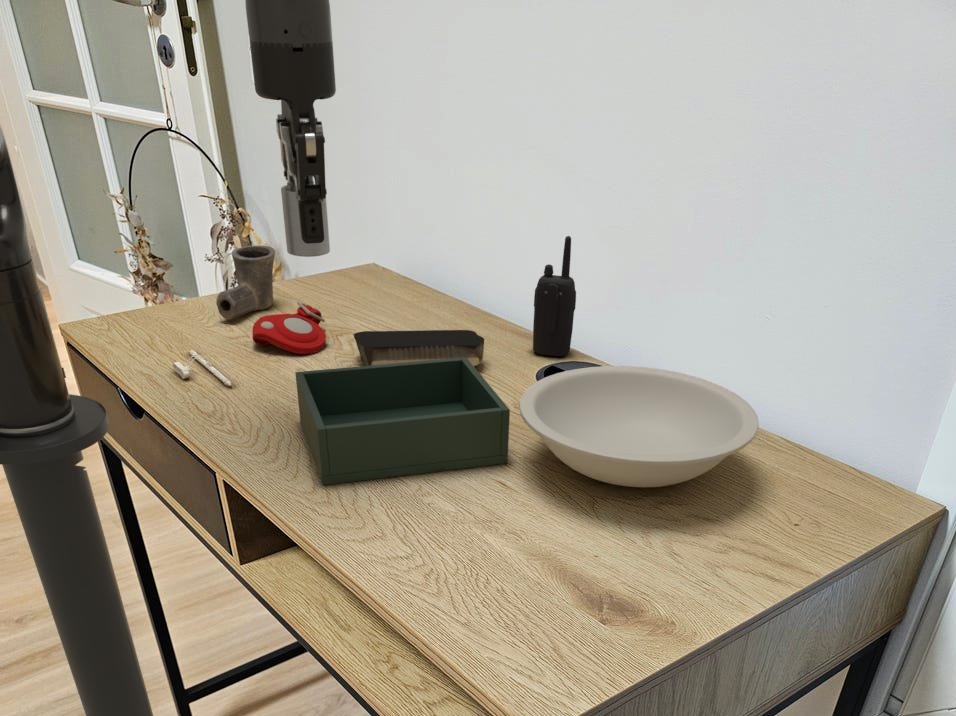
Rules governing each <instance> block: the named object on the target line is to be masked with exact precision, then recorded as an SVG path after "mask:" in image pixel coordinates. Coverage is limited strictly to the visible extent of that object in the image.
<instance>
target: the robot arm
mask: <svg viewBox="0 0 956 716" xmlns="http://www.w3.org/2000/svg"><path fill="white" fill-rule="evenodd" d="M244 3H245V14H246V21H247V22H246V23H247V31H248V37H249V38H248V39H249V48H250V58H251V65H252V66H251V67H252V74H253V82H254V89H255V93H256V95H257V96H258V97H260V98H262V99H266V100H272V101H280V104H281V105H280V106H281V107H280V108H281V114H279V113H278V114H277V116H276V118H275V126H276V127H275V128H276V133H277V136H278V138H279V147H280V161H281V164H282V166H283V177H284V179H285V181H286V185H291V184H295V187H296V193H295V195H296V199H297V201H298V207H299V217H300V228H301V237H302V240H303V241H304V242H305V243H307V244H310V243H322V242H323V241H324V228H323V216H322V204H321V202H323V199H325V198H326V199H327V193H328V192H327V188H326V187H327V185H326V162H325V161H326V160H325V159H326V158H325V143H326V138H325V136H324V128H323V123H322V120H321V121H320V120H318V117H316V112H315V107H314V103H315V102H316V101H318V100H327V99H331V98H332V97H334V96H335V95H336V92H337V86H336V73H335V72H336V71H335V57H334V42H333V28H332V14H331V13H332V12H331V3H330V0H245V1H244ZM7 145H8V144H7V141H6V138H5V134H4V131H3V128H2V126H1V125H0V436H1V437H8V438H24V437H33V436H39V435H44V434H48V433H51V432H54V431H57V430H59V429H62V428H64V427H66V426H67V425H69V424H70V423H71V422H72V421H73V420H74V418H75V412H74V408H73V405H72V403H71V399H70V396H69V394H70V393H69V390H68V386H67V382H66V378H67V376H66V372H65V369H64V367H62V364H61V360H60V356H59V352H58V349H57V346H56V342H55V337H54V334H53V330H52V327H51V323H50V319H49V315H48V312H47V307H46V304H45V300H44V297H43V292H42V289H41V286H40V282H39V278H38V274H37V270H36V267H35V264H34V260H33V256H32V252H31V249H30V244H29V240H28V233H27V232H28V231H27V225H26V223H27V222H26V217H25V213H24V208H23V204H22V201H21V197H20V192H19V189H18V184H17V181H16V176H15V172H14V169H13V164H12V161H11V156H10V152H9V149H8V146H7ZM305 184H315V185H305Z"/></svg>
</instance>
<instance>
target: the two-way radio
mask: <svg viewBox="0 0 956 716" xmlns="http://www.w3.org/2000/svg"><path fill="white" fill-rule="evenodd" d="M571 253H572V237H571V236H570V235H566V236H565V238H564V245H563V253H562V254H563V255H562V263H561V275H555V274H554V266H553V265H552V264H546V265H545V266H544V269H543V275H541V277H539V279H538V281H537V283H536V287H535V288H534V296H533V298H534V299H533V309H534V310H533V329H532V351H533V352H535V353H536V354H537V355H545V356H554V357H561V358H562V357H564V356H568V355H569V354H570V351H571V344H572V343H571V342H572V335H573V329H574V328H573V327H574V318H575V317H574V316H575V310H576V305H577V291H576V285H575V284H576V283H575V280H574V278H573V277H572V276H570V270H571V258H572V257H571V255H572V254H571Z"/></svg>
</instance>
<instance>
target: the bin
mask: <svg viewBox="0 0 956 716" xmlns="http://www.w3.org/2000/svg"><path fill="white" fill-rule="evenodd" d="M295 383H296V391H297V392H296V394H297V402H298V410H299V411H298V412H299V420H300V424H301V428H302V431H303V433H304V436H305V439H306V442H307V445H308V447H309V450H310V454H311V456H312V459H313V462H314V465H315V467H316V469H317V472H318V473H317V474H318V475H319V479H320V482H321V484H322V486H327V485H336V484H345V483H352V482H354V483H355V482H361V481H362V482H363V481H370V480H377V479H385V478H386V479H387V478H395V477H404V476H411V475H421V474H427V473H436V472H437V473H438V472H446V471H453V470H461V469H472V468H479V467H486V466H487V467H488V466H495V465H496V466H497V465H503V464H508V461H509V455H508V454H509V440H510V439H509V436H510V415H511V410H510V407H508V406H507V404H506V403H505V402H504V401H503V399H502V398H501V397H500V396H499V395H498V394H497V392H496V390H494V389H493V387H491V385H490V384H489V382H487V380H486V379H485V378H484V377H483V376H482V375H481V373H480V372H479V370H477V368H476V366H473V365H472V364H471V362H470V361H469V360H468V359H467V358H466V357H464V358H452V359H441V360H429V361H418V362H406V363H395V364H383V365H371V366H366V365H362V366H350V367H338V368H337V367H336V368H328V369H327V368H326V369H316V370H305V371H304V370H303V371H295Z"/></svg>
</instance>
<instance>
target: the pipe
mask: <svg viewBox="0 0 956 716" xmlns="http://www.w3.org/2000/svg"><path fill="white" fill-rule="evenodd" d="M230 254H231V256H232V260H233V265H234V270H235V275H236V282H237V286H236V287H233V288H230V289H226V290H223V291H220V292H219V293H218V294H217V296H216V302H215V303H216V307H217V309H218V313H219V315H221V317H222V318H223V319H227V320H233V319H236V318H239V317H242V316H243V315H246V314H248V313H251V312H254V311H261V310H266V309H268V308H270V307H271V306H272V305H273V302H274V287H273V283H274V282H273V275H274V274H273V273H274V262H275V256H276V250H275V248H273V247H271V246H270V245H269V246H268V245H260V244H259V245H245V246H241V247H238V248H234V249H233V250H232V251H231V253H230Z"/></svg>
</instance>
